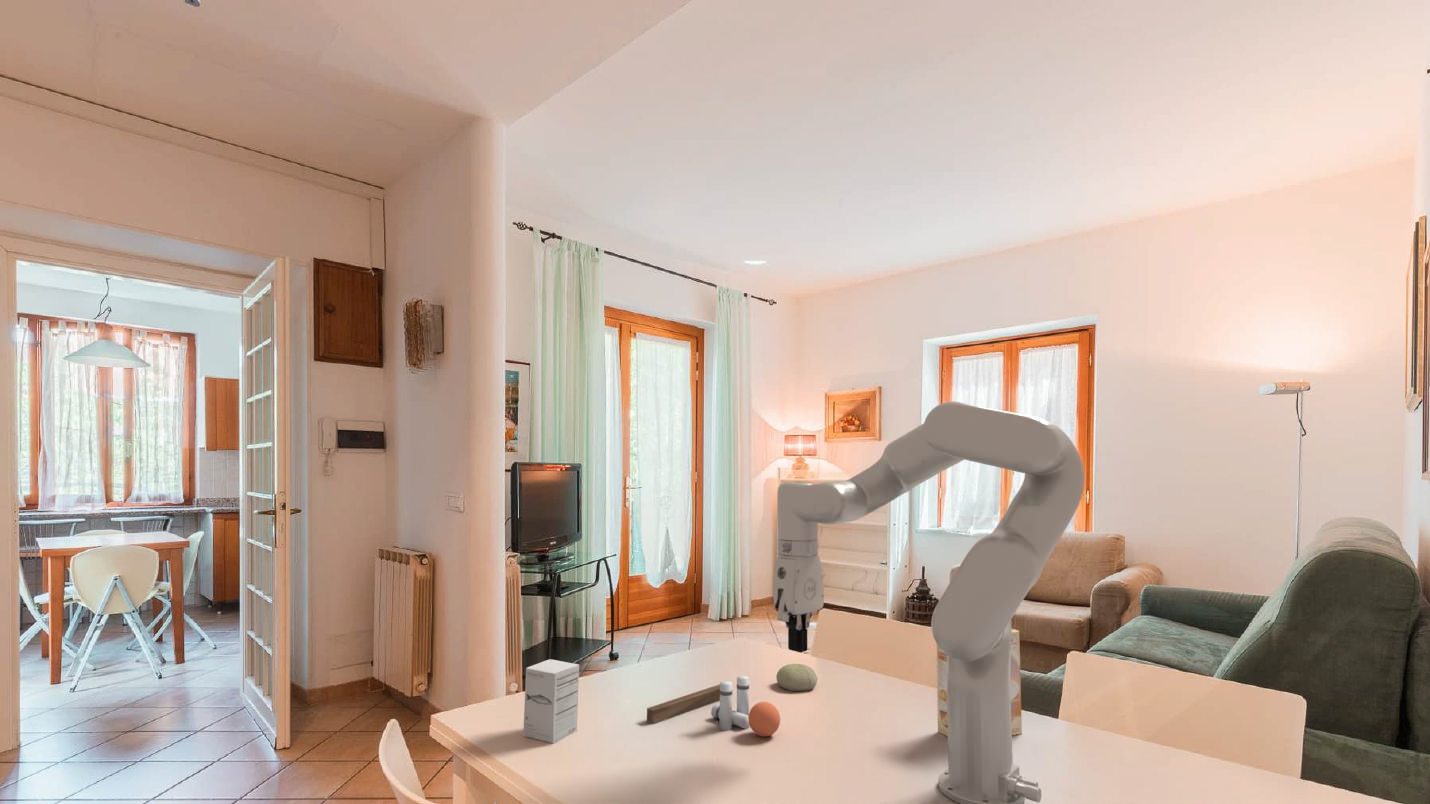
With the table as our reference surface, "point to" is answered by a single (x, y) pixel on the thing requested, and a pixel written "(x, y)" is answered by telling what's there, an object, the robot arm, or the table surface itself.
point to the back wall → (683, 704)
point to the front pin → (737, 717)
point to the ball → (764, 719)
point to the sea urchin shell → (796, 677)
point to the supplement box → (551, 700)
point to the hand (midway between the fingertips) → (797, 650)
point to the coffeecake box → (1015, 687)
